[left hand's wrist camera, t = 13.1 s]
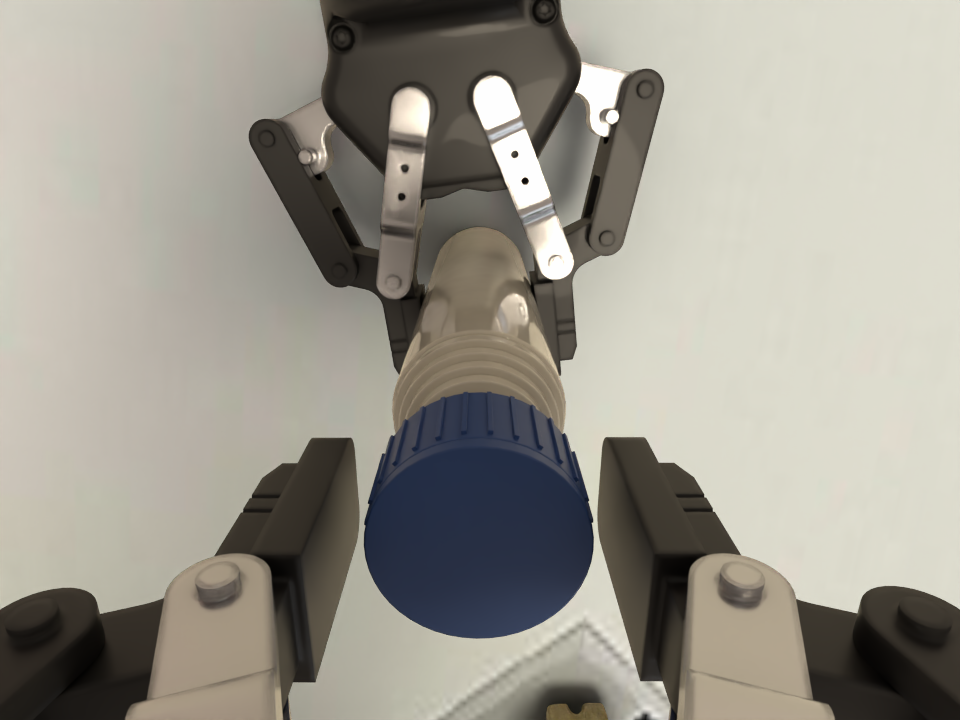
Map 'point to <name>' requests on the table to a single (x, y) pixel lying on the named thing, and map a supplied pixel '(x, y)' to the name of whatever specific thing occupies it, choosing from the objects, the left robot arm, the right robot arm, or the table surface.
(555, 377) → the bottle
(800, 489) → the table surface
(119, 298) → the table surface
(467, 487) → the cap
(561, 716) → the sculpture
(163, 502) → the table surface
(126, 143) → the table surface
